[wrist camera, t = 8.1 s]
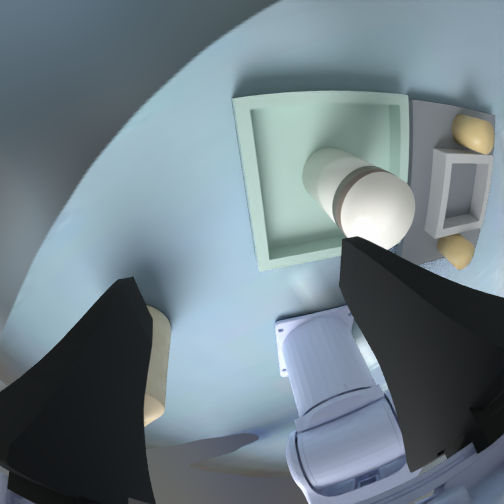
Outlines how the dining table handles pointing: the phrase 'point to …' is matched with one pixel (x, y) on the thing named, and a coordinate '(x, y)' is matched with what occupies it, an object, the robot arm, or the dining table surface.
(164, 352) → the candle
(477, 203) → the fuse panel
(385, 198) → the cylinder
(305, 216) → the parts tray
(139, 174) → the dining table surface
